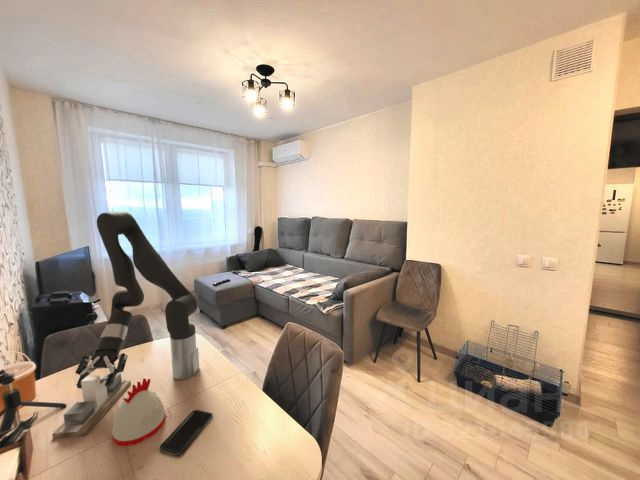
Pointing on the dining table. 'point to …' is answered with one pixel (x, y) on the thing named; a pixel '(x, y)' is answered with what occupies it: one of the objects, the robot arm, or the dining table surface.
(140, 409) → the kitchen timer
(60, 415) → the dining table surface
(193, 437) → the phone
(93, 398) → the block
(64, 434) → the rail plate
